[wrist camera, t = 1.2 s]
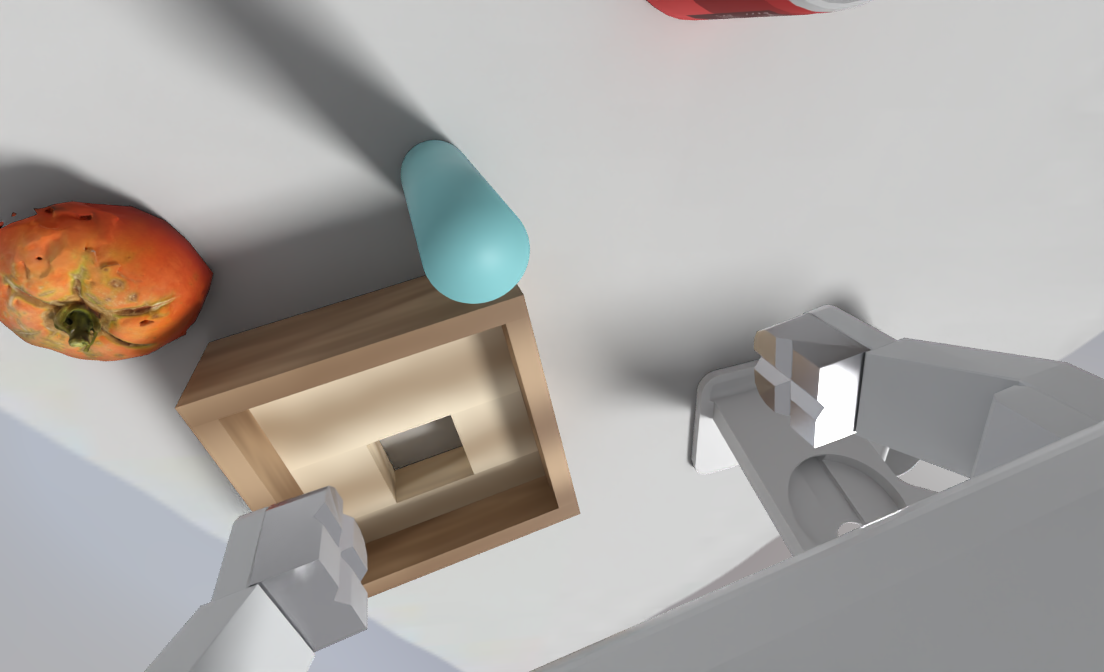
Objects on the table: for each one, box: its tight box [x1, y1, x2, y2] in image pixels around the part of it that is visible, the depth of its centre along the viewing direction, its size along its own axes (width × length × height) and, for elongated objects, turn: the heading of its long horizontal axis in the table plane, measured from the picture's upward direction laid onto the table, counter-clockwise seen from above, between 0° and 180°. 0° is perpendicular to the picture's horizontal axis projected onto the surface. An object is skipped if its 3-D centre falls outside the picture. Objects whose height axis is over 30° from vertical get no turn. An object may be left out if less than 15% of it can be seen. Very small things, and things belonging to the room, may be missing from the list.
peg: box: [401, 140, 530, 304], centre depth 23 cm, size 4×4×12 cm
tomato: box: [0, 201, 213, 361], centre depth 24 cm, size 8×7×7 cm
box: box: [175, 275, 580, 598], centre depth 31 cm, size 16×16×6 cm
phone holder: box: [691, 360, 939, 556], centre depth 37 cm, size 17×10×18 cm, turn 94°
